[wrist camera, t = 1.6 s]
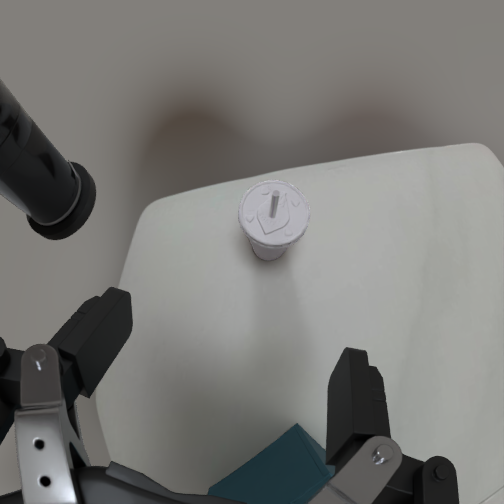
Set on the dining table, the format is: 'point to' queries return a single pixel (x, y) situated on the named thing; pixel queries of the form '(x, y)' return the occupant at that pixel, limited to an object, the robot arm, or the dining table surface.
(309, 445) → the open storage box
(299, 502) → the flap
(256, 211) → the smoothie
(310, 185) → the dining table surface
